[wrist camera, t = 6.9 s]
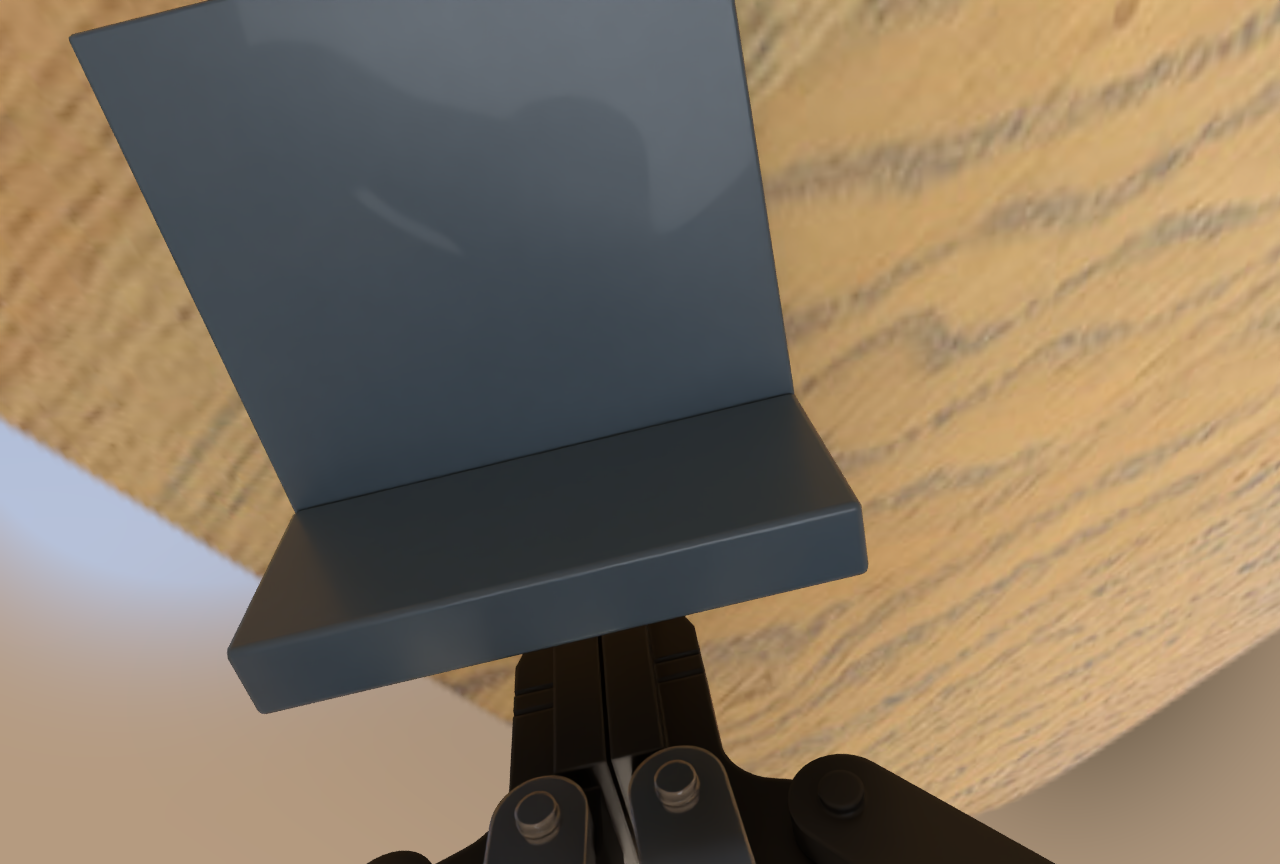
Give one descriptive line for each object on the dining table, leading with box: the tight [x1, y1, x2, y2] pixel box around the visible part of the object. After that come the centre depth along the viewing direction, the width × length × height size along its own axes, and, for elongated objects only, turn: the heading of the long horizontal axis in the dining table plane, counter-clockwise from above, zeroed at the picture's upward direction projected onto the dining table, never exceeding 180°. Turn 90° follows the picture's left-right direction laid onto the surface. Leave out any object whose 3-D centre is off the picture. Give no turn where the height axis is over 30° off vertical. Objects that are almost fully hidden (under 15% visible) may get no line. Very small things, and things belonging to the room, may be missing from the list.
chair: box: [69, 0, 868, 714], centre depth 12 cm, size 7×7×8 cm
